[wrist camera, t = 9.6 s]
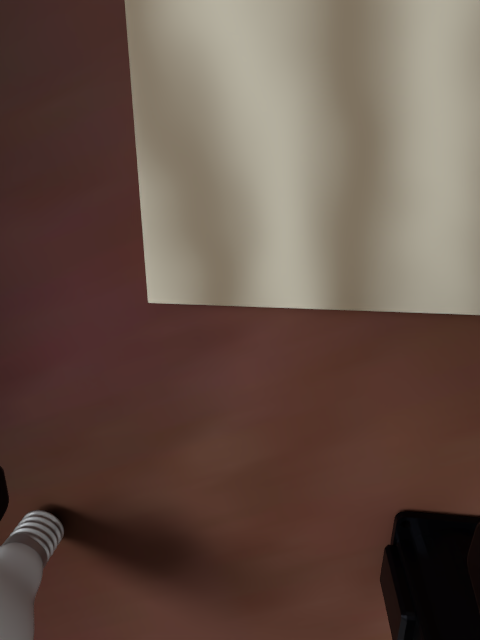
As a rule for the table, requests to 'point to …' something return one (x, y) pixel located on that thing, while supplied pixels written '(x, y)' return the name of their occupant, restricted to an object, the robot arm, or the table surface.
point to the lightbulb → (25, 571)
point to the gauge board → (309, 152)
